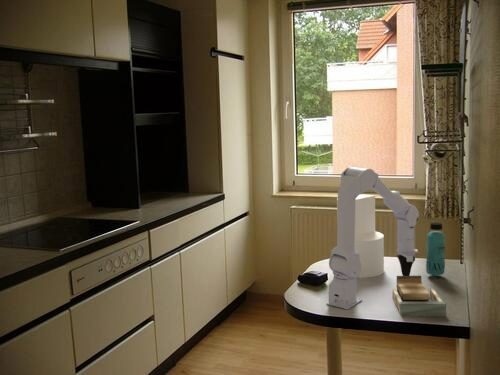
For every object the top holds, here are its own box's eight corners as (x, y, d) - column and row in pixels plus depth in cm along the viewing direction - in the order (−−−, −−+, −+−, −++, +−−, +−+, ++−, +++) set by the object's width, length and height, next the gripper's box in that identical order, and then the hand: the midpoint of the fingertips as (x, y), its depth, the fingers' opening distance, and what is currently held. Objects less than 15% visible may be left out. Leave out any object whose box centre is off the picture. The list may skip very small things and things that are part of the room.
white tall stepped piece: (328, 270, 207) (327, 199, 202) (358, 260, 217) (357, 193, 213) (363, 280, 193) (362, 204, 189) (393, 270, 204) (393, 198, 199)
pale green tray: (445, 316, 159) (446, 303, 158) (401, 316, 160) (401, 303, 160) (433, 297, 174) (433, 285, 174) (392, 297, 176) (392, 286, 175)
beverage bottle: (422, 277, 194) (423, 223, 191) (431, 272, 199) (431, 220, 196) (439, 280, 190) (440, 225, 187) (448, 276, 194) (449, 222, 191)
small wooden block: (396, 290, 182) (396, 275, 181) (420, 290, 181) (420, 275, 181) (403, 303, 170) (403, 287, 170) (428, 303, 170) (429, 287, 169)
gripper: (422, 243, 177) (422, 282, 179) (413, 232, 191) (413, 269, 193) (400, 243, 177) (400, 282, 179) (393, 232, 192) (393, 269, 194)
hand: (405, 275), depth 186 cm, fingers closed
